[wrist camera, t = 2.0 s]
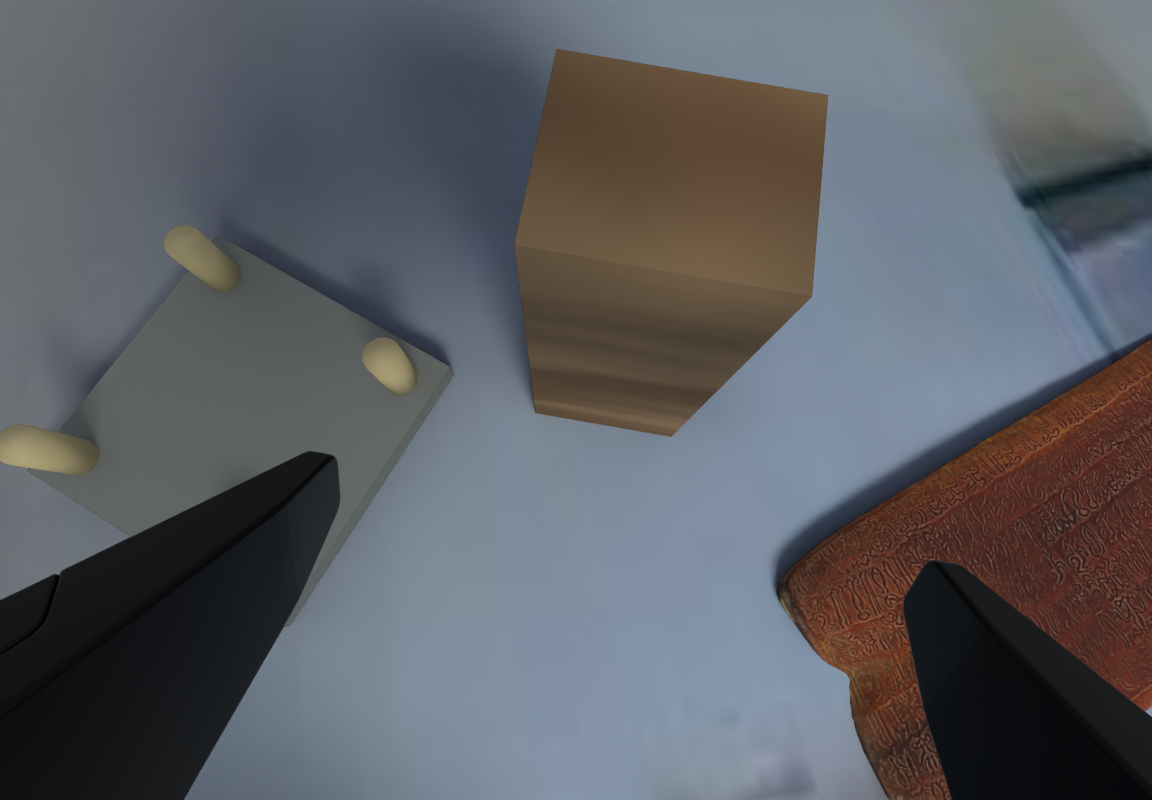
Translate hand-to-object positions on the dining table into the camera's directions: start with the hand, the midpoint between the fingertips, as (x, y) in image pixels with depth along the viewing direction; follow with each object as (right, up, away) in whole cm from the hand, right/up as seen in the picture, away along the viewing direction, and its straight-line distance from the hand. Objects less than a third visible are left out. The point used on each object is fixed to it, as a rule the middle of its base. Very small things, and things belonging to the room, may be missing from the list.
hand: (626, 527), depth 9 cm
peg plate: (-12, +1, +12) cm, 17 cm away
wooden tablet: (+20, -2, +14) cm, 24 cm away
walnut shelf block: (+1, +3, +13) cm, 14 cm away
